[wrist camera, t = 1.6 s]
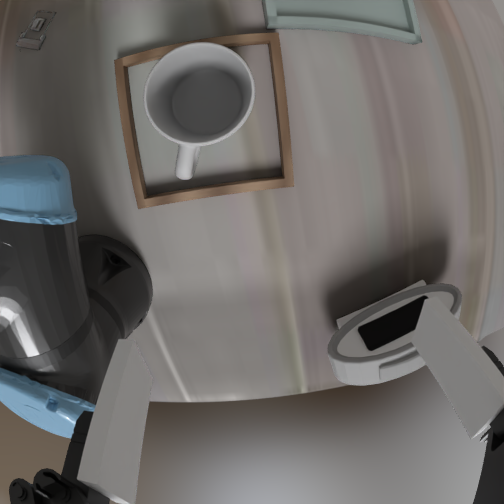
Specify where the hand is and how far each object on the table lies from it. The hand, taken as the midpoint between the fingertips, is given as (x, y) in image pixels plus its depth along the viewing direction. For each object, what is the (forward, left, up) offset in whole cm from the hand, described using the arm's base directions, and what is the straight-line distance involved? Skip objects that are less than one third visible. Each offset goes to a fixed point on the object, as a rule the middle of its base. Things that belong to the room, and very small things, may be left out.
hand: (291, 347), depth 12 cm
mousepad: (-25, +26, -25) cm, 43 cm away
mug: (-4, +10, -24) cm, 26 cm away
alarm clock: (+20, -21, -24) cm, 38 cm away
